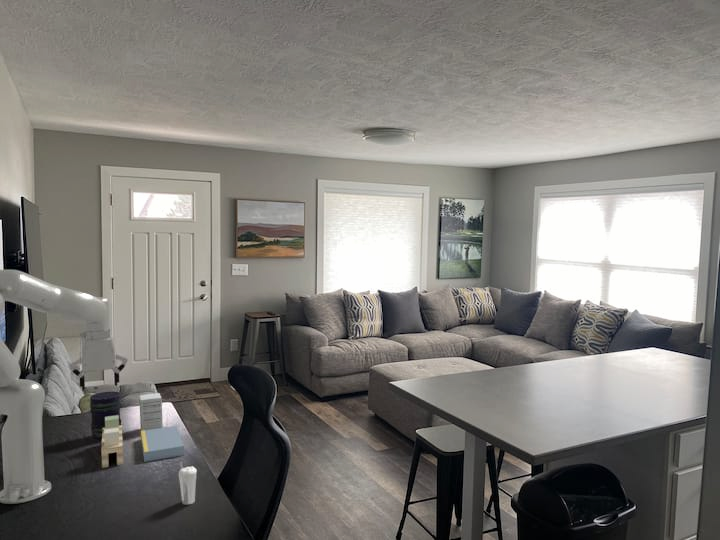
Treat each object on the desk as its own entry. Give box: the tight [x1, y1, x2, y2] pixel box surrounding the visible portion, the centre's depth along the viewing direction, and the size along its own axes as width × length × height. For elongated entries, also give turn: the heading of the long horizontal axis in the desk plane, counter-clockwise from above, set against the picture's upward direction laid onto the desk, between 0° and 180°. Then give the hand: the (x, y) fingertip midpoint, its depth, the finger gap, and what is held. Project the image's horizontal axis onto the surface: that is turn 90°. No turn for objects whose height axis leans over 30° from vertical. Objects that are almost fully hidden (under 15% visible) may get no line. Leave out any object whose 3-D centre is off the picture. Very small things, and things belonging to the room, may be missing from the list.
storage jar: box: [89, 386, 122, 442], centre depth 194 cm, size 10×10×18 cm
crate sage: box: [105, 415, 119, 429], centre depth 184 cm, size 4×4×4 cm
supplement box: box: [138, 392, 164, 431], centre depth 200 cm, size 7×7×13 cm
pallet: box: [101, 424, 124, 469], centre depth 178 cm, size 22×6×6 cm, turn 24°
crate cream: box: [104, 427, 119, 447], centre depth 171 cm, size 4×4×4 cm
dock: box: [140, 425, 185, 463], centre depth 183 cm, size 22×12×3 cm, turn 24°
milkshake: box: [178, 461, 198, 506], centre depth 143 cm, size 5×5×10 cm
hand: (99, 386), depth 179 cm, fingers open, 9 cm apart
